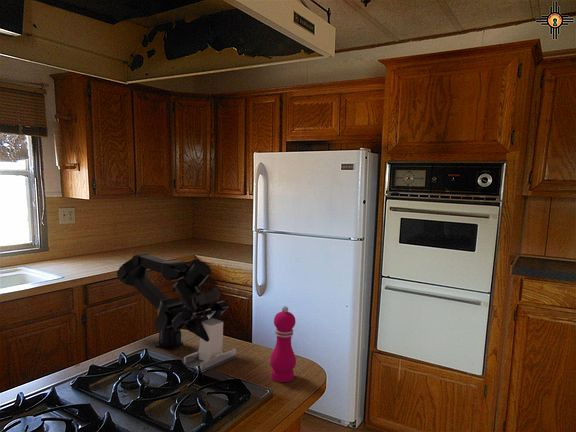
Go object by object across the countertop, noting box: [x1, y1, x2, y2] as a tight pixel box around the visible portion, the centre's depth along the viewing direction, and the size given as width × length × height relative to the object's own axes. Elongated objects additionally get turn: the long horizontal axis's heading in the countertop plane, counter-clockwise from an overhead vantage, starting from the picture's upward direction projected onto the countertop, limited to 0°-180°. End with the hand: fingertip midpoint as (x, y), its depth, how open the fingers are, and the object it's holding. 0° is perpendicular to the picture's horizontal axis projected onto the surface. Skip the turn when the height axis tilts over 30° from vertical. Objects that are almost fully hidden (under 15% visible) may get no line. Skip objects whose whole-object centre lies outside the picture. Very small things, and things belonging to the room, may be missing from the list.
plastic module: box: [198, 318, 224, 361], centre depth 117 cm, size 4×5×11 cm
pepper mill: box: [269, 305, 297, 383], centre depth 108 cm, size 7×7×20 cm
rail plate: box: [182, 348, 237, 371], centre depth 117 cm, size 8×14×3 cm, turn 145°
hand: (214, 338), depth 116 cm, fingers closed on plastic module, 5 cm apart
